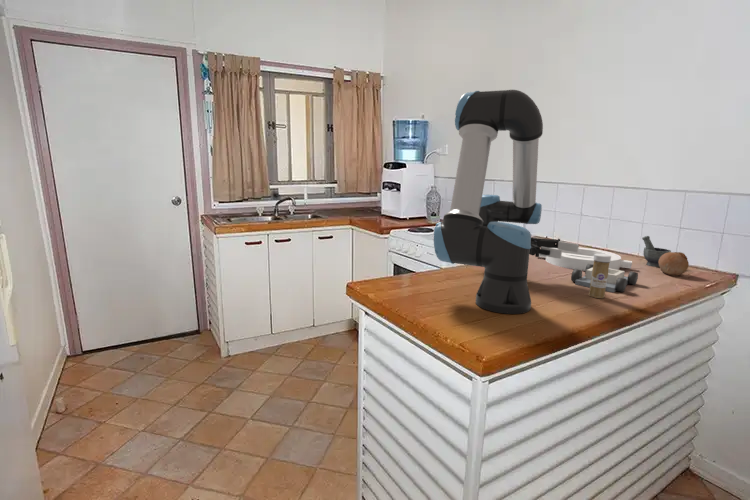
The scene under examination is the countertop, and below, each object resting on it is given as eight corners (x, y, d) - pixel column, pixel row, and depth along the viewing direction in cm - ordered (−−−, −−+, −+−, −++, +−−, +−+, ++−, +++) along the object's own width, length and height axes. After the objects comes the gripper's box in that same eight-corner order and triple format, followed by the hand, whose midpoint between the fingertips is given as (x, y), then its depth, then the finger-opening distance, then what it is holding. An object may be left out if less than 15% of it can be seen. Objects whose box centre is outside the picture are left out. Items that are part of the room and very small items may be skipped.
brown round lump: (680, 282, 161) (699, 261, 157) (670, 279, 155) (689, 257, 152) (658, 268, 168) (675, 248, 164) (648, 265, 162) (665, 243, 159)
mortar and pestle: (672, 266, 174) (677, 238, 172) (663, 269, 169) (668, 240, 166) (643, 261, 183) (647, 234, 181) (633, 263, 178) (637, 236, 175)
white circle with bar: (532, 257, 186) (533, 247, 185) (585, 256, 192) (586, 246, 191) (576, 273, 159) (577, 261, 158) (636, 271, 166) (638, 259, 165)
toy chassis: (619, 294, 133) (622, 280, 132) (569, 282, 145) (570, 270, 144) (637, 283, 147) (639, 270, 146) (590, 273, 158) (591, 262, 157)
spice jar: (592, 298, 128) (598, 255, 125) (586, 293, 132) (591, 252, 130) (607, 299, 128) (614, 256, 125) (600, 294, 132) (606, 253, 129)
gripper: (525, 246, 159) (582, 256, 144) (490, 256, 142) (551, 269, 127) (527, 226, 157) (585, 235, 143) (492, 234, 140) (554, 245, 126)
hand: (570, 251), depth 135 cm, fingers open, 13 cm apart
